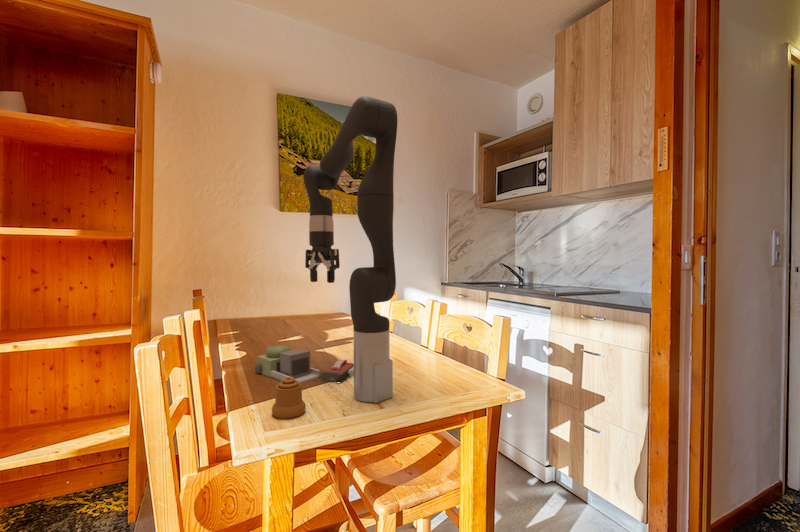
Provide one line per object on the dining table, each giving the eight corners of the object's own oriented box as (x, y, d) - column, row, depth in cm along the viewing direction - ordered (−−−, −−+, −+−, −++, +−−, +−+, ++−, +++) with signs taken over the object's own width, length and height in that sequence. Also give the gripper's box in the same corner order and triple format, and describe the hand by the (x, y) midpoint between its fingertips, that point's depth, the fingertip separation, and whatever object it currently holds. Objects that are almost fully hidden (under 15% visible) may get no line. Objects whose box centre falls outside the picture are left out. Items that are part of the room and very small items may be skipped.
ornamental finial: (277, 407, 93) (308, 406, 93) (267, 420, 85) (301, 419, 85) (277, 374, 93) (308, 373, 93) (267, 384, 85) (301, 384, 85)
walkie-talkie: (346, 386, 108) (369, 366, 128) (346, 370, 108) (369, 353, 128) (317, 383, 110) (344, 364, 130) (317, 368, 110) (344, 351, 130)
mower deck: (322, 376, 116) (322, 351, 116) (288, 386, 107) (288, 359, 107) (287, 364, 129) (287, 342, 128) (254, 372, 120) (254, 349, 120)
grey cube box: (310, 374, 116) (310, 351, 116) (290, 380, 111) (290, 355, 111) (300, 371, 120) (300, 348, 119) (280, 376, 114) (280, 352, 114)
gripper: (345, 230, 119) (346, 282, 120) (317, 232, 129) (318, 280, 129) (326, 229, 114) (326, 284, 114) (298, 231, 123) (298, 282, 123)
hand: (322, 282), depth 122 cm, fingers open, 8 cm apart
